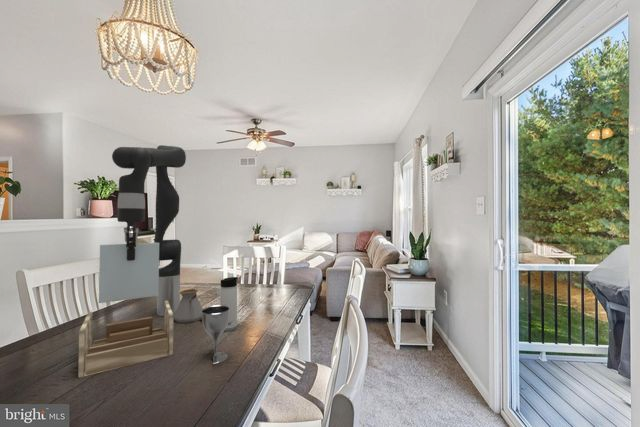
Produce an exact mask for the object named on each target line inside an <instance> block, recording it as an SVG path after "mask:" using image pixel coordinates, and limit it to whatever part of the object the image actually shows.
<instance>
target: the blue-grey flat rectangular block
mask: <svg viewBox="0 0 640 427" xmlns="http://www.w3.org/2000/svg"><path fill="white" fill-rule="evenodd" d="M159 269H160V261H159V243H154V242H146V243H145V242H144V243H140V242H139V243H136V249H135V260H132V261H128V260H127V248H126V243H119V244H118V243H115V244H114V243H112V244H100V245H99V269H98V270H99V276H98V304H103V303H104V304H105V303H111V302H120V301H128V300H135V299H142V298H152V297H157V296H158V287H159Z"/></svg>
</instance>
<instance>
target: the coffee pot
mask: <svg viewBox="0 0 640 427" xmlns="http://www.w3.org/2000/svg"><path fill="white" fill-rule="evenodd" d="M197 293H198V289H196V288H192V289H191V288H189V289H184V290H180V296H182V297H181V298H180V304H179V306H178V308H177V310H176V313H175V314H174V315H173V321H175V322H176V323H179V324H188V323H194V322H197V321H200V320H202V310H203V309H204V308H203V307H202V305H201V303H200V301H199V298H200V296H198V294H197ZM197 296H198V297H197Z"/></svg>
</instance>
